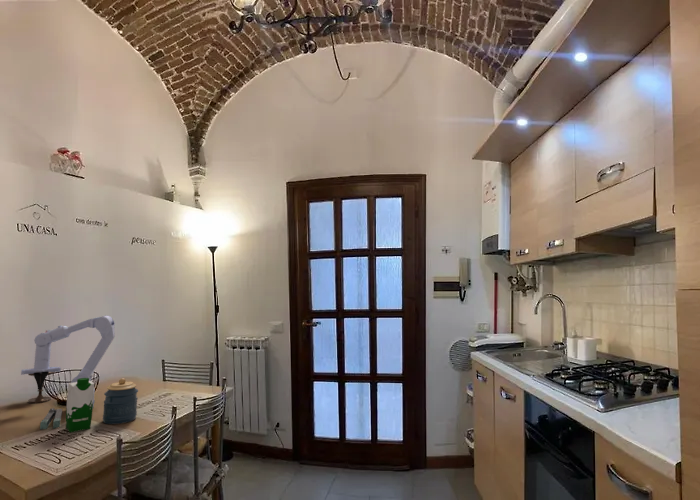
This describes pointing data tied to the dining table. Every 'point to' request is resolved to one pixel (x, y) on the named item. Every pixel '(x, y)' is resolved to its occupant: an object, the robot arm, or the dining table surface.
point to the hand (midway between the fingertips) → (39, 388)
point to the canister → (120, 402)
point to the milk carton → (79, 405)
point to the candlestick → (40, 393)
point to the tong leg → (46, 420)
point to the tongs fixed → (56, 417)
